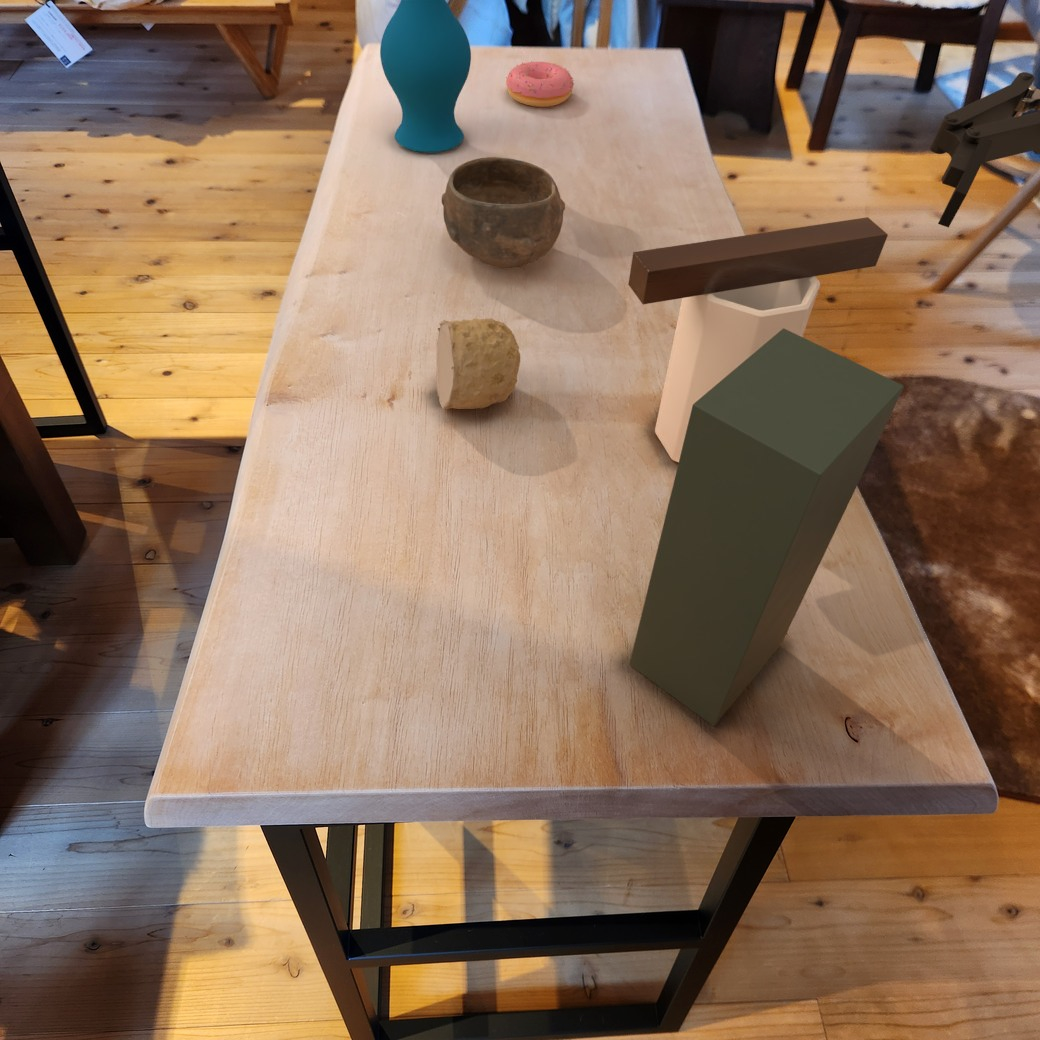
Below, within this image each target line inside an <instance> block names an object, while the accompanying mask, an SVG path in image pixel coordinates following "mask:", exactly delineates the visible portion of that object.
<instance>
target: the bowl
mask: <svg viewBox="0 0 1040 1040" xmlns="http://www.w3.org/2000/svg"><path fill="white" fill-rule="evenodd" d="M441 204H442V206H443V207H442V210H443V211H442V213H443V215H442V216H443V221H444V224H445V228H446V231H447V233H448V236H449V238H450V240H451V241H452V242H454V243H455V244H456V245H457V246H458V247H459V248H460V249H461V250H462V251H464V253H466V254H467V255H469V256H471V257H473V258H474V259H476V260H478V261H480V262H481V263H484V264H485V265H488V266H490V267H492V268H497V269H503V270H507V269H509V270H510V269H517V268H521V267H524V266H526V265H529V264H532V263H535V262H536V261H538V260H540V259H542V258H543V257H544V256H545V255H547V254H548V252H549V251H550V250H551V249H552V248H553V247H554V245H555V244H556V242H557V240H558V238H559V235H560V233H561V229H562V226H563V221H564V212H565V211H566V204H565V202H564V201H563V199H562V198H561V194H560V192H559V188H558V185H557V184H556V181H555V180H554V178H553V177H552V175H551V174H550V173H549V172H547V171H546V170H545V169H544V168H542V167H540V166H538V165H536V164H534V163H530V162H527V161H524V160H519V159H515V158H510V157H509V158H507V157H498V156H488V157H487V156H486V157H479V158H475V159H471V160H468V161H466V162H464V163H462V164H460V165H457V167H456V168H455V169H453V170H452V172H451V174H450V175H449V178H448V181H447V183H446V187H445V192H444V193H442V194H441Z"/></svg>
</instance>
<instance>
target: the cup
mask: <svg viewBox="0 0 1040 1040" xmlns="http://www.w3.org/2000/svg"><path fill="white" fill-rule="evenodd" d="M820 287H821V282H820V280H819V279H818V278H817V276H813V277H807V278H801V279H795V280H789V281H783V282H777V283H771V284H764V285H758V286H752V287H746V288H740V289H734V290H728V291H722V292H716V293H710V294H704V295H698V296H692V297H686V298H681V303H680V308H679V312H678V318H677V322H676V327H675V332H674V337H673V341H672V346H671V349H670V350H671V351H670V356H669V361H668V365H667V370H666V375H665V379H664V385H663V390H662V394H661V399H660V403H659V404H660V405H659V407H658V408H659V409H658V414H657V419H656V423H655V427H654V433H655V435H656V436H657V438H658V439H659V442H660V443H661V444H662V446H663V448H664V449H665V451H666V452H667V454H668V456H669V457H670V459H671V460H672V461H673V462H676V463H679V459H680V455H681V451H682V447H683V443H684V439H685V435H686V430H687V426H688V422H689V418H690V414H691V410H692V406H693V404H694V403H695V402H696V401H698V400H699V399H700V398H701V397H702V396H703V395H705V394H706V393H707V392H708V391H709V390H711V389H712V388H713V387H714V386H715V385H717V384H718V383H719V382H720V381H721V380H722V379H724V378H725V377H726V376H727V375H728V374H730V373H731V372H732V371H733V370H734V369H736V368H737V367H738V366H739V365H740V364H741V363H743V362H744V361H745V360H746V359H747V358H749V357H750V356H751V355H752V354H753V353H755V352H756V351H757V350H758V349H759V348H760V347H762V346H763V345H764V344H765V343H766V342H768V341H769V340H770V339H771V338H772V337H773V336H775V335H776V334H777V333H778V332H779V331H781V330H782V329H783V328H784V329H786V330H788V331H790V332H792V333H795V334H797V335H799V336H801V337H803V338H804V334H805V331H806V329H807V325H808V322H809V320H810V316H811V313H812V311H813V308H814V305H815V302H816V299H817V296H818V293H819V290H820Z"/></svg>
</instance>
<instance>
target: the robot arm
mask: <svg viewBox="0 0 1040 1040" xmlns="http://www.w3.org/2000/svg"><path fill="white" fill-rule="evenodd" d="M1035 79H1036V77H1035V76H1034V74H1032V73H1030V72H1026V71H1021V72H1020V73H1018V74H1017V75H1016V76H1015V78H1014V79H1013V81H1012V82H1011V83H1010V84H1009V85H1007V86H1004V87H1002V88H1001V89H998V90H996V91H994V92H992V93H990V94H987V95H985V96H983V97H981V98H979V99H977V100H975V101H972V102H970V103H969V104H968V103H967V104H966V105H965V106H962V107H960V108H958V109H956V110H953V111H951V112H949V113H947V114H946V115H944V117H943V118H942V121H941V123H940V125H939V127H938V128H937V129H938V130H937V131H936V133H935V135H934V138H933V139H932V142H931V144H930V146H929V150H930V152H932V153H933V154H937V155H943V154H947V155H949V156H950V161H949V163H948V165H947V167H946V169H945V171H944V173H943V175H942V177H941V183H942V184H943V185H945V186H948V187H951V188H954V190H953V192H952V194H951V196H950V198H949V201H948V202H947V204H946V206H945V208H944V210H943V212H942V215H941V216H940V219H939V221H938V223H937V224H938V225H940V226H943V227H946V228H947V229H949V228H950V226H951V225H952V222H953V221H954V219H955V217H956V215H957V213H958V211H959V210H960V208H961V206H962V204H963V202H964V201H965V199H966V197H967V195H968V193H969V191H970V188H971V187H972V184H973V183H974V181H975V178H976V176H977V174H978V172H979V170H980V168H981V166H982V164H983V163H987V162H991V161H995V160H999V159H1004V158H1008V157H1013V156H1017V155H1021V154H1024V153H1025V154H1026V153H1029V152H1033V153H1034V154H1035V155H1040V88H1037V87H1036V85H1033V83H1034V81H1035ZM1029 111H1035V112H1031V113H1028V112H1029ZM1025 113H1027V114H1025Z"/></svg>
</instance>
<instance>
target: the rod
mask: <svg viewBox="0 0 1040 1040" xmlns="http://www.w3.org/2000/svg"><path fill="white" fill-rule="evenodd" d="M888 237H889V234H888V233H887V232H886V231H884V230H883V229H882V228H881V227H880V226H879V225H878V224H877V223H876V222H874V221H873V220H872V219H871V218H870V217H869V216H867V217H860V218H854V219H847V220H839V221H832V222H826V223H819V224H813V225H805V226H800V227H791V228H786V229H779V230H773V231H766V232H761V233H760V232H758V233H751V234H746V235H739V236H732V237H726V238H719V239H711V240H705V241H698V242H692V243H685V244H678V245H672V246H671V245H670V246H665V247H659V248H657V247H656V248H652V249H644V250H638V251H633V252H632V258H631V264H630V271H629V272H630V273H629V276H628V277H629V278H628V286H629V288H630V289H631V290H632V292H633V293H634V295H635V297H637V299H638V300H639V301H640V303H641V304H642V305H648V304H649V305H650V304H654V303H655V304H656V303H661V302H667V301H673V300H679V299H682V298H686V297H692V296H698V295H704V294H710V293H716V292H722V291H728V290H734V289H740V288H746V287H752V286H758V285H764V284H771V283H777V282H783V281H789V280H795V279H801V278H807V277H813V276H815V277H818V276H825V275H829V274H831V275H832V274H837V273H842V272H843V273H844V272H849V271H854V270H855V271H856V270H861V269H866V268H872V267H876V266H877V264H878V263H879V259H880V256H881V253H882V251H883V248H884V246H885V243H886V242H887V238H888Z"/></svg>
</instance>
